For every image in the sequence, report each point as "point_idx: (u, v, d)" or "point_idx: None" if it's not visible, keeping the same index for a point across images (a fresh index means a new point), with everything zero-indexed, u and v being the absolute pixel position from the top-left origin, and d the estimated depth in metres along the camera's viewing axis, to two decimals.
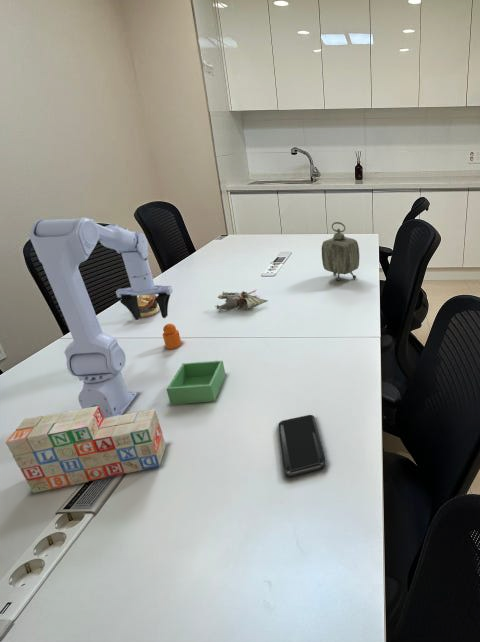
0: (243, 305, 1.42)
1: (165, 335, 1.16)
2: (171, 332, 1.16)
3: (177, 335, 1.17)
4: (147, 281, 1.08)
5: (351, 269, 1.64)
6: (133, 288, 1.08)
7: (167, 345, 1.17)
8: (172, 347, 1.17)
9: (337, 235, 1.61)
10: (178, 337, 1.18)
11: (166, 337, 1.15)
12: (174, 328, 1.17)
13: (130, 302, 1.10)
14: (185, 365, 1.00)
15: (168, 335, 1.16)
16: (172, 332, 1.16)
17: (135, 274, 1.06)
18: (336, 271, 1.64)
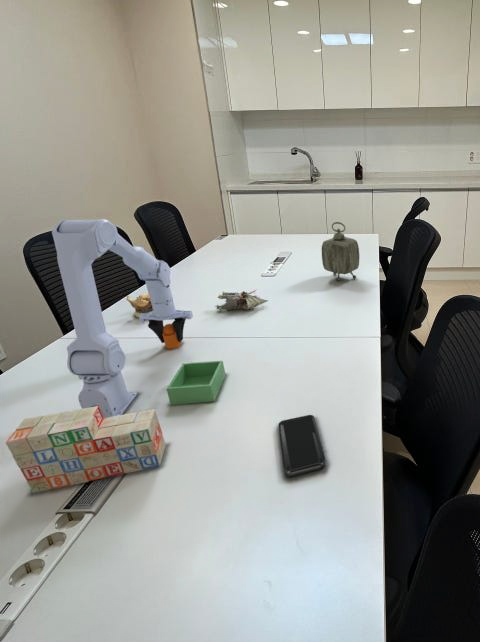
0: (243, 305, 1.42)
1: (165, 335, 1.16)
2: (171, 332, 1.16)
3: None
4: (169, 307, 1.12)
5: (351, 269, 1.64)
6: (156, 314, 1.12)
7: (167, 345, 1.17)
8: (172, 347, 1.17)
9: (337, 235, 1.61)
10: None
11: (166, 337, 1.15)
12: None
13: (157, 326, 1.14)
14: (185, 365, 1.00)
15: (168, 335, 1.16)
16: (172, 332, 1.16)
17: (157, 301, 1.10)
18: (336, 271, 1.64)
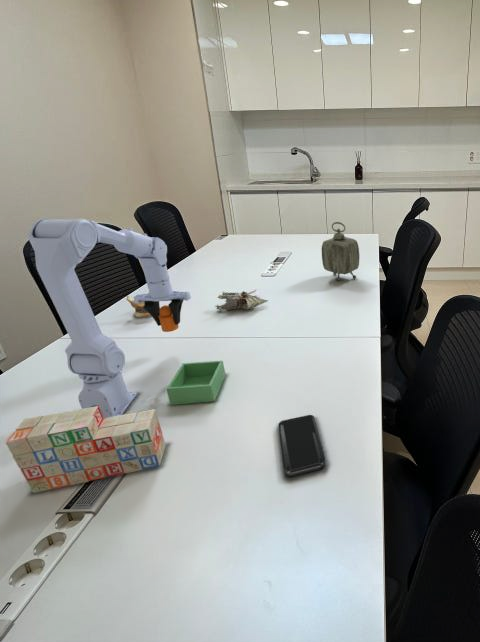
0: (243, 305, 1.42)
1: (161, 317, 1.10)
2: (167, 314, 1.11)
3: None
4: (166, 287, 1.07)
5: (351, 269, 1.64)
6: (151, 294, 1.07)
7: (163, 328, 1.11)
8: (169, 330, 1.12)
9: (337, 235, 1.61)
10: None
11: (162, 319, 1.10)
12: None
13: (153, 308, 1.09)
14: (185, 365, 1.00)
15: (164, 317, 1.10)
16: (169, 314, 1.11)
17: (151, 280, 1.05)
18: (336, 271, 1.64)
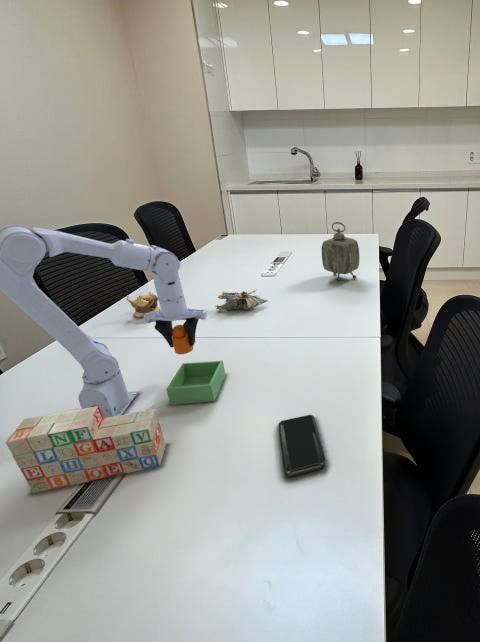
0: (243, 305, 1.42)
1: (174, 338, 0.98)
2: (182, 335, 0.99)
3: None
4: (180, 305, 0.95)
5: (351, 269, 1.64)
6: (164, 313, 0.95)
7: (177, 350, 0.99)
8: (183, 352, 1.00)
9: (337, 235, 1.61)
10: None
11: (175, 341, 0.98)
12: (185, 330, 0.99)
13: (165, 328, 0.97)
14: (185, 365, 1.00)
15: (178, 338, 0.98)
16: (183, 335, 0.99)
17: (158, 297, 0.93)
18: (336, 271, 1.64)
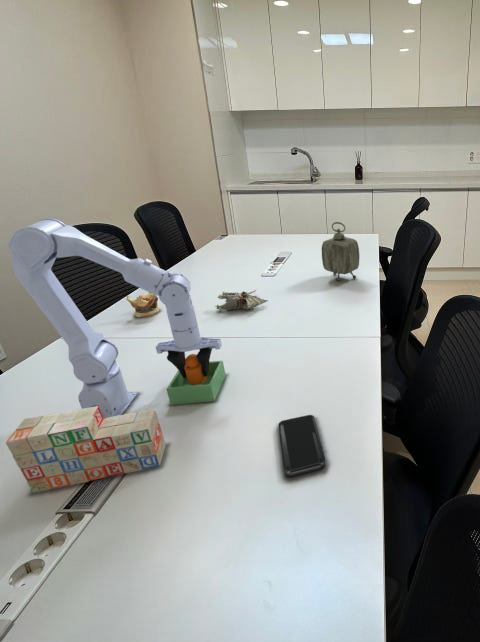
0: (243, 305, 1.42)
1: (188, 369, 0.94)
2: (195, 365, 0.94)
3: None
4: (194, 335, 0.90)
5: (351, 269, 1.64)
6: (177, 344, 0.90)
7: (190, 381, 0.95)
8: (196, 383, 0.95)
9: (337, 235, 1.61)
10: None
11: (189, 371, 0.93)
12: (198, 360, 0.94)
13: (178, 359, 0.92)
14: None
15: (191, 369, 0.94)
16: (196, 365, 0.94)
17: (170, 325, 0.89)
18: (336, 271, 1.64)
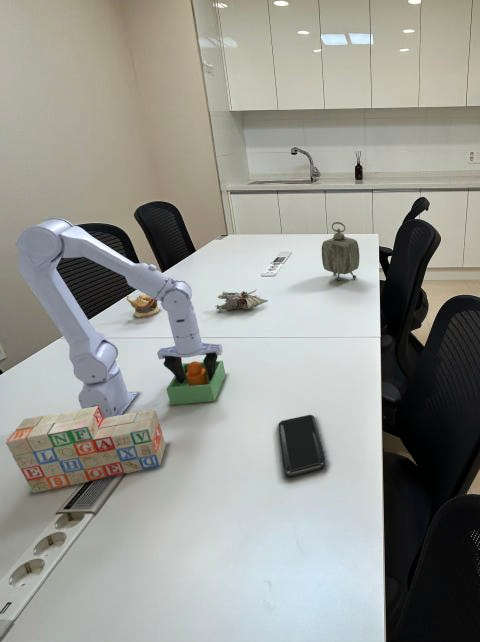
0: (243, 305, 1.42)
1: (189, 376, 0.95)
2: (197, 372, 0.95)
3: (204, 375, 0.96)
4: (195, 341, 0.91)
5: (351, 269, 1.64)
6: (178, 349, 0.90)
7: None
8: None
9: (337, 235, 1.61)
10: (205, 377, 0.96)
11: (191, 379, 0.94)
12: (200, 367, 0.95)
13: (175, 365, 0.93)
14: (185, 365, 1.00)
15: (193, 376, 0.94)
16: (198, 372, 0.95)
17: None
18: (336, 271, 1.64)
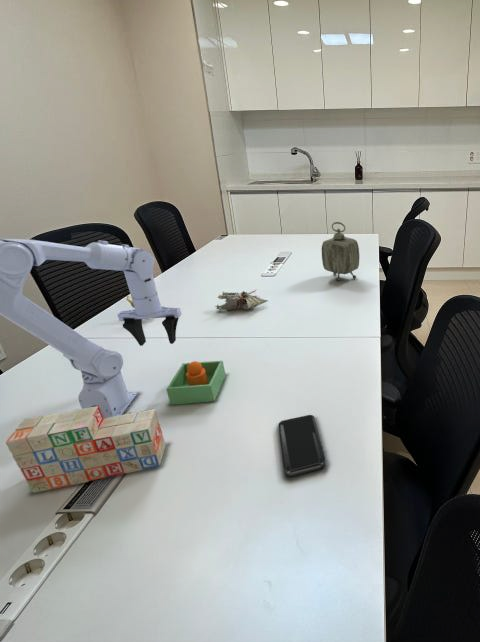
0: (243, 305, 1.42)
1: (189, 376, 0.95)
2: (197, 372, 0.95)
3: (204, 375, 0.96)
4: (153, 303, 0.95)
5: (351, 269, 1.64)
6: (137, 311, 0.95)
7: None
8: None
9: (337, 235, 1.61)
10: (205, 377, 0.96)
11: (191, 379, 0.94)
12: (200, 367, 0.95)
13: (134, 326, 0.97)
14: (185, 365, 1.00)
15: (193, 376, 0.94)
16: (198, 372, 0.95)
17: (134, 296, 0.93)
18: (336, 271, 1.64)
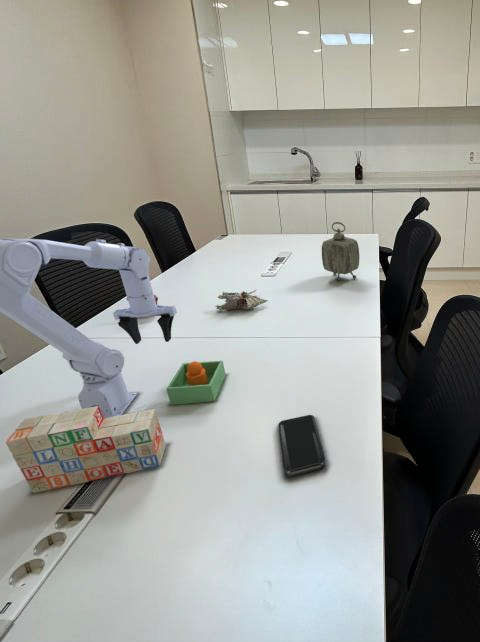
0: (243, 305, 1.42)
1: (189, 376, 0.95)
2: (197, 372, 0.95)
3: (204, 375, 0.96)
4: (148, 302, 0.96)
5: (351, 269, 1.64)
6: (132, 309, 0.96)
7: None
8: None
9: (337, 235, 1.61)
10: (205, 377, 0.96)
11: (191, 379, 0.94)
12: (200, 367, 0.95)
13: (129, 325, 0.98)
14: (185, 365, 1.00)
15: (193, 376, 0.94)
16: (198, 372, 0.95)
17: (130, 294, 0.94)
18: (336, 271, 1.64)
